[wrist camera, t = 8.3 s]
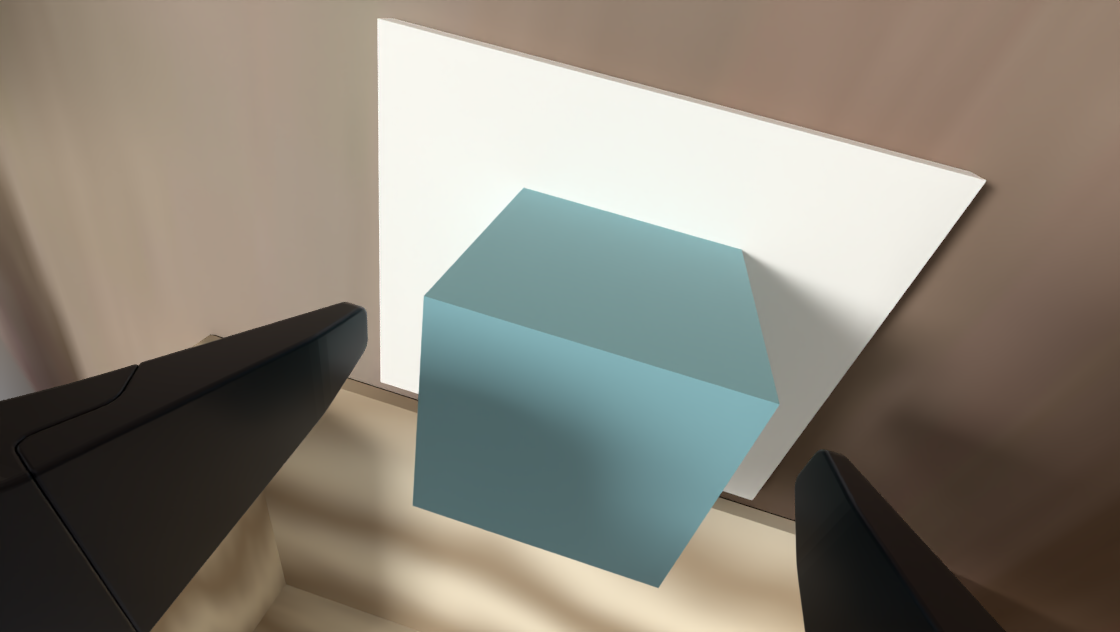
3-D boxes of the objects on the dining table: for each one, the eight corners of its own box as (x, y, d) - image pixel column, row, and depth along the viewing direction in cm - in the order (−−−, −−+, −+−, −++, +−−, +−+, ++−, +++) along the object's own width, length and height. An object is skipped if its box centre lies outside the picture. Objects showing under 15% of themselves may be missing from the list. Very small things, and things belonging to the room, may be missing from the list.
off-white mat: (750, 484, 15) (752, 500, 14) (390, 370, 16) (380, 381, 15) (970, 171, 9) (986, 180, 9) (392, 18, 10) (377, 18, 10)
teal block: (666, 408, 13) (658, 588, 9) (495, 355, 14) (412, 505, 9) (741, 249, 10) (779, 404, 6) (523, 187, 11) (423, 295, 7)
